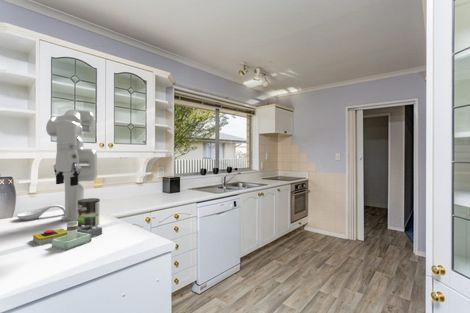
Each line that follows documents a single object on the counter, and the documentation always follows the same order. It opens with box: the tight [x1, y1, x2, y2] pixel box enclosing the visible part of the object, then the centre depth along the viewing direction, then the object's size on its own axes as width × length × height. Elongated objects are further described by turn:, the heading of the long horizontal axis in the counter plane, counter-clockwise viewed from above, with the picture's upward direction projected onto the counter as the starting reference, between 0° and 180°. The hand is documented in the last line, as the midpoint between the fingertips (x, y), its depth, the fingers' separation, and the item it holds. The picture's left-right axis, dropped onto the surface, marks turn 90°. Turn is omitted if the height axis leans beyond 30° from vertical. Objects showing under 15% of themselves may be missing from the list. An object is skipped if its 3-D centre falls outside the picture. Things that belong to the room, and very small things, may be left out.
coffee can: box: [77, 197, 101, 228], centre depth 131 cm, size 10×10×14 cm
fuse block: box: [77, 225, 103, 238], centre depth 116 cm, size 7×10×4 cm
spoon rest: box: [16, 204, 65, 221], centre depth 147 cm, size 24×12×7 cm, turn 126°
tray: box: [51, 232, 92, 251], centre depth 104 cm, size 11×9×3 cm
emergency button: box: [28, 228, 67, 247], centre depth 110 cm, size 9×4×15 cm
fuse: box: [66, 220, 78, 242], centre depth 104 cm, size 4×4×9 cm
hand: (66, 184), depth 111 cm, fingers open, 9 cm apart
